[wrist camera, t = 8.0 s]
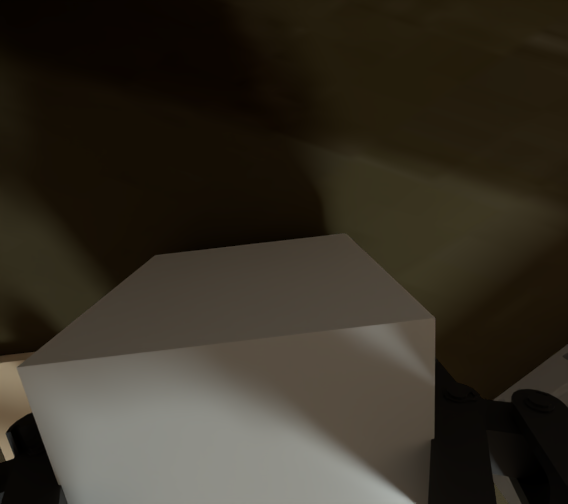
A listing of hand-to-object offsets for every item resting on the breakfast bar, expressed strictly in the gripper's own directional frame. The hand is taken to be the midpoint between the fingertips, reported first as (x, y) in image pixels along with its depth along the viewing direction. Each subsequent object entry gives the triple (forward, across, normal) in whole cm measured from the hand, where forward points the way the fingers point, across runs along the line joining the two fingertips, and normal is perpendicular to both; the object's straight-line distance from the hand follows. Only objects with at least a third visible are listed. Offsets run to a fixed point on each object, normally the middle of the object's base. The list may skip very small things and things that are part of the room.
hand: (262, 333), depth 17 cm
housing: (0, 0, 0) cm, 0 cm away
